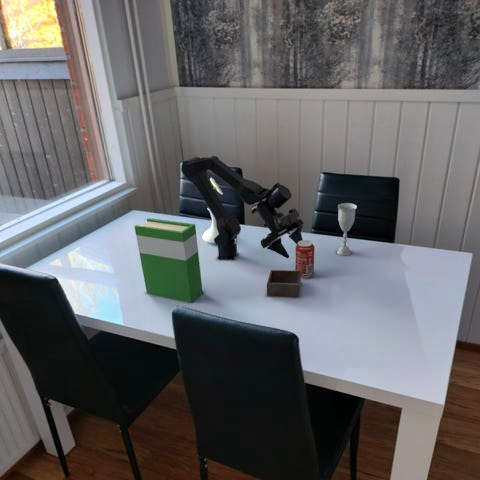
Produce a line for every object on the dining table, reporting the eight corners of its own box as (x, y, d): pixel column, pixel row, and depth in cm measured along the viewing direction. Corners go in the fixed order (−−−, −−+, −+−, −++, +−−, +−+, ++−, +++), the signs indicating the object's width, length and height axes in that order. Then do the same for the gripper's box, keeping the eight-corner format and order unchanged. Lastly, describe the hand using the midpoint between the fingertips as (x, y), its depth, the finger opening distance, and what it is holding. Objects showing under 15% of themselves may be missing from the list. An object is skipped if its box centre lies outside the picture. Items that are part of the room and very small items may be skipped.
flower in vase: (229, 245, 189) (225, 183, 176) (201, 246, 190) (195, 185, 176) (230, 233, 200) (226, 174, 187) (204, 234, 201) (198, 175, 187)
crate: (267, 296, 152) (266, 283, 150) (271, 281, 161) (270, 269, 158) (298, 297, 150) (298, 285, 148) (300, 282, 159) (301, 270, 156)
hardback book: (146, 293, 158) (134, 226, 145) (159, 283, 164) (148, 218, 151) (191, 302, 151) (182, 232, 138) (202, 292, 157) (195, 224, 144)
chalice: (332, 249, 180) (335, 203, 170) (350, 248, 180) (353, 202, 171) (337, 257, 174) (340, 210, 164) (355, 255, 174) (359, 208, 164)
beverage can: (310, 269, 166) (311, 238, 160) (315, 277, 161) (316, 245, 155) (293, 272, 166) (293, 240, 159) (298, 279, 160) (298, 247, 154)
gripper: (266, 211, 150) (294, 251, 149) (299, 195, 161) (325, 232, 161) (248, 229, 158) (275, 267, 158) (281, 213, 170) (306, 248, 170)
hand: (296, 253), depth 162 cm, fingers open, 9 cm apart
